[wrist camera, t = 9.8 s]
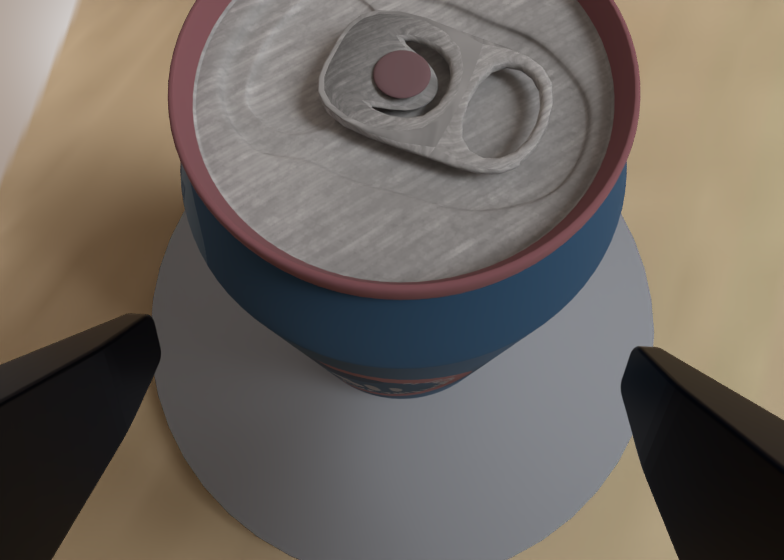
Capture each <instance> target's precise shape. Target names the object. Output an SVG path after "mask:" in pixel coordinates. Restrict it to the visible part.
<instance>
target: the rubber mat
mask: <svg viewBox="0 0 784 560" xmlns="http://www.w3.org/2000/svg"><path fill="white" fill-rule="evenodd" d="M152 318H153V319H154V322H155V326H156V330H157V334H158V338H159V343H160V347H161V359H160V363H159V365H158V367H157V370H156V372H155V374H154V375H155V380H156V386H157V391H158V396H159V399H160V402H161V405H162V408H163V411H164V414H165V417H166V420H167V423H168V426H169V428H170V430H171V432H172V434H173V436H174V438H175V440H176V442H177V444H178V446H179V448H180V450H181V452H182V454H183V456H184V458H185V460H186V461H187V463H188V464H189V466H190V467H191V469H192V470H193V471H194V473H195V474H196V476H197V477H198V479H199V480H200V482H201V483H202V484H203V486H204V487H205V488H206V489H207V491H208V492H209V493H210V494H211V495H212V496H213V497H214V498H215V499H216V500H217V501H218V502H219V503H220V505H221V506H222V507H223V508H224V509H225V510H226V511H227V512H228V513H229V514H230V515H231V516H232V517H234V518H235V519H236V520H237V521H239V522H240V523H241V524H242V525H244V526H245V527H246V528H247V529H249V530H250V531H251V532H252V533H254V534H255V535H256V536H257V537H259V538H261V539H262V540H264V541H266V542H267V543H269V544H271V545H273V546H274V547H276V548H278V549H279V550H281V551H283V552H284V553H286V554H288V555H290V556H292V557H295V558H297V559H300V560H507V559H509V558H511V557H513V556H515V555H517V554H518V553H520V552H522V551H524V550H526V549H527V548H529V547H531V546H533V545H535V544H536V543H538V542H540V541H542V540H543V539H545V538H546V537H547V536H549V535H550V534H551V533H552V532H554V531H555V530H556V529H558V528H559V527H560V526H562V525H563V524H564V523H565V522H567V521H568V520H569V519H571V518H572V517H573V516H574V515H575V514H576V513H577V512H578V511H579V510H580V509H581V508H582V507H583V506H584V505H585V503H586V502H587V501H588V500H589V499H590V498H591V497H592V496H593V495H594V494H595V493H596V492H597V491H598V490H599V488H600V487H601V485H602V484H603V483H604V481H605V480H606V478H607V477H608V476H609V474H610V473H611V471H612V470H613V469H614V467H615V466H616V464H617V463H618V461H619V460H620V458H621V456H622V454H623V452H624V450H625V448H626V446H627V444H628V442H629V440H630V438H631V436H632V431H631V428H630V424H629V420H628V417H627V413H626V410H625V406H624V403H623V399H622V395H621V380H622V377H623V374H624V371H625V368H626V365H627V362H628V359H629V356H630V353H631V351H632V350H633V348H635V347H637V346H647V347H653V339H654V327H653V315H652V303H651V296H650V291H649V287H648V282H647V278H646V273H645V268H644V266H643V263H642V260H641V257H640V254H639V252H638V249H637V246H636V243H635V241H634V238H633V236H632V234H631V232H630V230H629V228H628V226H627V224H626V222H625V220H624V218H623V216H622V215H621V214H620V218H619V222H618V225H617V228H616V230H615V233H614V236H613V238H612V241H611V243H610V245H609V247H608V249H607V251H606V253H605V255H604V257H603V259H602V261H601V262H600V264H599V266H598V267H597V269H596V271H595V272H594V273H593V275H592V276H591V277H590V279H589V280H588V282H587V283H586V284H585V286H584V287H583V288H582V289H581V290H580V291H579V293H578V294H577V295H576V296H575V297H574V298H573V299H572V300H571V301H570V302H569V303H568V304H567V305H566V306H565V307H564V308H563V309H562V310H561V311H560V312H559V313H557V314H556V315H555V316H554V317H552V318H551V319H550V320H549V321H547V322H546V323H545V324H543V325H542V326H540V327H539V328H537V329H536V330H535V331H533V332H532V333H530V334H529V335H527V336H526V337H524V338H523V339H521V340H520V341H519V342H517V343H516V344H514V345H513V346H511V347H510V348H508V349H507V350H505V351H504V352H502V353H501V354H500V355H498V356H497V357H495V358H494V359H492V360H491V361H489V362H488V363H486V364H485V365H484V366H482V367H481V368H479V369H478V370H476V371H475V372H473V373H472V374H470V375H469V376H467V377H466V378H465V379H463V380H462V381H460V382H459V383H457V384H455V385H453V386H452V387H450V388H448V389H445V390H443V391H441V392H438V393H435V394H432V395H428V396H424V397H419V398H411V399H392V398H384V397H379V396H375V395H371V394H368V393H365V392H362V391H360V390H357V389H355V388H353V387H351V386H350V385H348V384H346V383H345V382H343V381H342V380H340V379H339V378H337V377H336V376H334V375H333V374H332V373H330V372H329V371H327V370H326V369H325V368H323V367H322V366H320V365H319V364H318V363H316V362H315V361H313V360H312V359H310V358H309V357H308V356H306V355H305V354H303V353H302V352H301V351H299V350H298V349H296V348H295V347H294V346H292V345H291V344H289V343H288V342H287V341H285V340H284V339H282V338H281V337H279V336H278V335H277V334H275V333H274V332H272V331H271V330H270V329H268V328H267V327H265V326H264V325H263V324H261V323H260V322H258V321H257V320H256V319H254V318H253V317H252V316H251V315H250V314H249V313H247V312H246V311H245V310H244V309H243V308H242V307H240V306H239V304H238V303H237V302H236V301H235V300H234V299H233V298H232V297H231V296H230V295H229V294H228V293H227V292H226V291H225V289H224V288H223V287H222V286H221V284H220V283H219V282H218V281H217V279H216V278H215V276H214V275H213V273H212V272H211V270H210V269H209V267H208V266H207V264H206V262H205V260H204V258H203V257H202V255H201V253H200V251H199V249H198V246H197V244H196V242H195V240H194V237H193V235H192V232H191V229H190V226H189V223H188V219H187V215H186V211H184V213H183V215H182V217H181V218H180V220H179V222H178V224H177V226H176V228H175V230H174V232H173V234H172V236H171V238H170V241H169V244H168V246H167V249H166V252H165V255H164V258H163V260H162V263H161V266H160V270H159V274H158V279H157V283H156V288H155V293H154V297H153V307H152Z"/></svg>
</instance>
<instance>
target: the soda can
mask: <svg viewBox="0 0 784 560" xmlns="http://www.w3.org/2000/svg"><path fill="white" fill-rule="evenodd" d="M168 110H169V119H170V126H171V131H172V135H173V139H174V143H175V147H176V150H177V153H178V155H179V158H180V161H181V169H180V173H181V188H182V195H183V202H184V207H185V211H186V215H187V219H188V223H189V226H190V229H191V232H192V235H193V237H194V240H195V242H196V244H197V246H198V249H199V251H200V253H201V255H202V257H203V258H204V260H205V262H206V264H207V266H208V267H209V269H210V270H211V272H212V273H213V275H214V276H215V278H216V279H217V281H218V282H219V283H220V284H221V286H222V287H223V288H224V289H225V291H226V292H227V293H228V294H229V295H230V296H231V297H232V298H233V299H234V300H235V301H236V302H237V303H238V304H239V306H240V307H242V308H243V309H244V310H245V311H246V312H247V313H249V314H250V315H251V316H252V317H253V318H254V319H256V320H257V321H258V322H260V323H261V324H263V325H264V326H265V327H267V328H268V329H270V330H271V331H272V332H274V333H275V334H277V335H278V336H279V337H281V338H282V339H284V340H285V341H287V342H288V343H289V344H291V345H292V346H294V347H295V348H296V349H298V350H299V351H301V352H302V353H303V354H305V355H306V356H308V357H309V358H310V359H312V360H313V361H315V362H316V363H318V364H319V365H320V366H322V367H323V368H325V369H326V370H327V371H329V372H330V373H332V374H333V375H334V376H336V377H337V378H339V379H340V380H342V381H343V382H345V383H346V384H348V385H350V386H351V387H353V388H355V389H357V390H360V391H362V392H365V393H368V394H371V395H375V396H379V397H384V398H392V399H411V398H419V397H424V396H428V395H432V394H435V393H438V392H441V391H443V390H445V389H448V388H450V387H452V386H453V385H455V384H457V383H459V382H460V381H462V380H463V379H465V378H466V377H467V376H469V375H470V374H472V373H473V372H475V371H476V370H478V369H479V368H481V367H482V366H484V365H485V364H486V363H488V362H489V361H491V360H492V359H494V358H495V357H497V356H498V355H500V354H501V353H502V352H504V351H505V350H507V349H508V348H510V347H511V346H513V345H514V344H516V343H517V342H519V341H520V340H521V339H523V338H524V337H526V336H527V335H529V334H530V333H532V332H533V331H535V330H536V329H537V328H539V327H540V326H542V325H543V324H545V323H546V322H547V321H549V320H550V319H551V318H552V317H554V316H555V315H556V314H557V313H559V312H560V311H561V310H562V309H563V308H564V307H565V306H566V305H567V304H568V303H569V302H570V301H571V300H572V299H573V298H574V297H575V296H576V295H577V294H578V293H579V291H580V290H581V289H582V288H583V287H584V286H585V284H586V283H587V282H588V280H589V279H590V277H591V276H592V275H593V273H594V272H595V271H596V269H597V267H598V266H599V264H600V262H601V261H602V259H603V257H604V255H605V253H606V251H607V249H608V247H609V245H610V243H611V241H612V238H613V236H614V233H615V230H616V228H617V225H618V222H619V218H620V214H621V211H622V206H623V201H624V195H625V187H626V175H627V158H628V156H629V153H630V151H631V148H632V145H633V141H634V138H635V134H636V130H637V124H638V119H639V110H640V76H639V67H638V62H637V57H636V52H635V48H634V45H633V41H632V38H631V35H630V33H629V30H628V28H627V25H626V23H625V20H624V18H623V16H622V14H621V12H620V10H619V9H618V7H617V5H616V4H615V2H614V0H196V2H195V3H194V5H193V6H192V8H191V10H190V12H189V14H188V16H187V18H186V20H185V22H184V24H183V26H182V29H181V31H180V33H179V36H178V39H177V42H176V45H175V48H174V52H173V56H172V61H171V65H170V73H169V80H168Z"/></svg>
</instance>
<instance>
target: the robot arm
mask: <svg viewBox="0 0 784 560" xmlns="http://www.w3.org/2000/svg"><path fill="white" fill-rule="evenodd" d="M160 359H161V347H160V343H159V338H158V334H157V330H156V326H155V322H154V319H153V318H152V317H151V316H150V315H147V314H133V313H130V314H125V315H123V316H120V317H118V318H115V319H113V320H110V321H108V322H105V323H103V324H100V325H98V326H96V327H93V328H91V329H88V330H86V331H83V332H81V333H78V334H76V335H73V336H71V337H68V338H66V339H63V340H61V341H58V342H56V343H53V344H51V345H49V346H46V347H44V348H41V349H39V350H36V351H34V352H31V353H29V354H26V355H24V356H21V357H19V358H16V359H14V360H11V361H9V362H6V363H4V364H1V365H0V560H52V558H53V556H54V555H55V553H56V551H57V550H58V548H59V546H60V545H61V543H62V541H63V540H64V538H65V536H66V535H67V533H68V531H69V530H70V528H71V526H72V525H73V523H74V521H75V520H76V518H77V516H78V514H79V513H80V511H81V509H82V508H83V506H84V504H85V503H86V501H87V499H88V498H89V496H90V494H91V493H92V491H93V489H94V488H95V486H96V484H97V483H98V481H99V479H100V478H101V476H102V474H103V473H104V471H105V469H106V467H107V466H108V464H109V462H110V461H111V459H112V457H113V456H114V454H115V452H116V451H117V449H118V447H119V446H120V444H121V442H122V441H123V439H124V437H125V435H126V433H127V432H128V430H129V428H130V426H131V424H132V422H133V420H134V418H135V415H136V413H137V411H138V409H139V407H140V404H141V402H142V400H143V398H144V396H145V394H146V391H147V389H148V387H149V385H150V383H151V380H152V378H153V376H154V374H155V372H156V370H157V367H158V365H159V363H160ZM621 395H622V399H623V403H624V406H625V410H626V413H627V417H628V420H629V424H630V428H631V431H632V435H633V438H634V442H635V446H636V449H637V453H638V456H639V459H640V463H641V466H642V469H643V471H644V474H645V477H646V479H647V482H648V484H649V487H650V489H651V492H652V494H653V497H654V499H655V502H656V504H657V507H658V509H659V512H660V514H661V517H662V519H663V521H664V524H665V526H666V529H667V531H668V534H669V536H670V539H671V541H672V544H673V546H674V549H675V551H676V554H677V556H678V558H679V560H784V420H782V419H781V418H779V417H777V416H775V415H774V414H772V413H770V412H769V411H767V410H765V409H763V408H762V407H760V406H758V405H757V404H755V403H753V402H752V401H750V400H748V399H746V398H745V397H743V396H741V395H740V394H738V393H736V392H734V391H733V390H731V389H729V388H728V387H726V386H724V385H722V384H721V383H719V382H717V381H716V380H714V379H712V378H710V377H709V376H707V375H705V374H704V373H702V372H700V371H698V370H697V369H695V368H693V367H692V366H690V365H688V364H686V363H685V362H683V361H681V360H680V359H678V358H676V357H675V356H673V355H671V354H669V353H668V352H666V351H664V350H663V349H661V348H658V347H647V346H637V347H635V348H633V350H632V351H631V353H630V356H629V359H628V362H627V365H626V368H625V371H624V374H623V377H622V380H621Z"/></svg>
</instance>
